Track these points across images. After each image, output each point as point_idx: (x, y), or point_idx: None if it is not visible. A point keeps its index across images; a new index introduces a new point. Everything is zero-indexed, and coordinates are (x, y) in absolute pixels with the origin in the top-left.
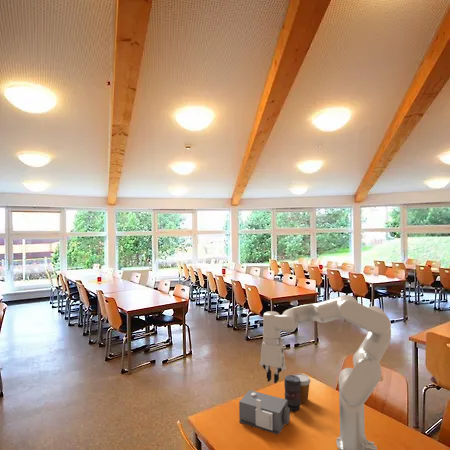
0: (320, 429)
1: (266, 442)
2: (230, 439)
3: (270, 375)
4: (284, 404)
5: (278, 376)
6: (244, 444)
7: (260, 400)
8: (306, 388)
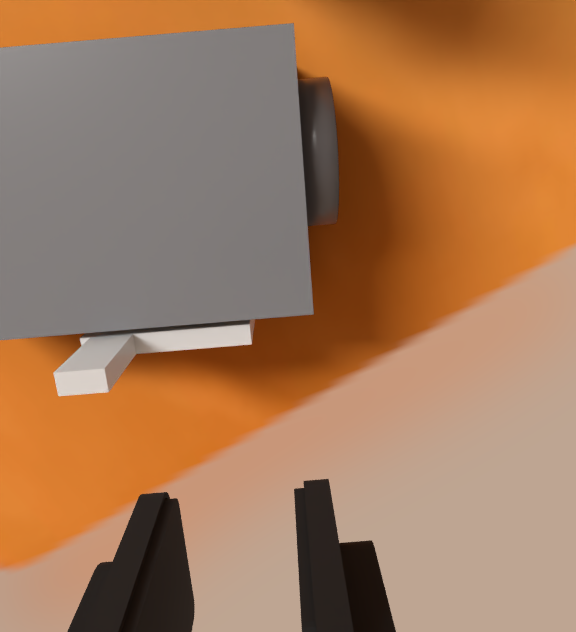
0: (564, 53)
1: (264, 397)
2: (61, 488)
3: (165, 614)
4: (298, 139)
5: (386, 612)
6: (158, 480)
7: (102, 379)
8: None
